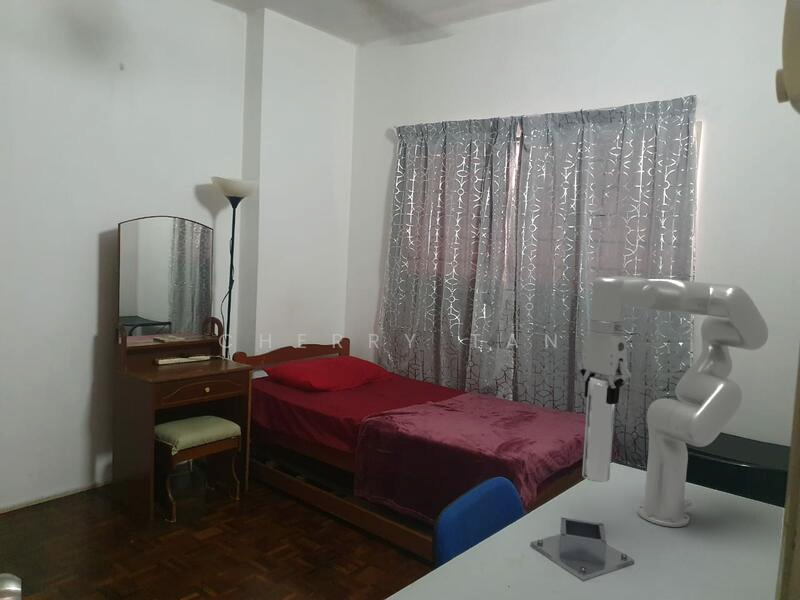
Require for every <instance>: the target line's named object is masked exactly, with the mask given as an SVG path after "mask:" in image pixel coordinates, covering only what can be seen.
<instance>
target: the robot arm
mask: <svg viewBox="0 0 800 600" xmlns="http://www.w3.org/2000/svg"><path fill="white" fill-rule="evenodd" d="M591 288H592V289H591V301H590V302H591V304H590V306H591V307H590V317H589V318H590V320H589V331H587V335H586V338H585V342H584V349H583V354H582V355H583V357H582V358H581V359H580V360H579V361H577V363H576V365H577V367H578V368H579V370H580V375H582V379H583V381H585V382H584V395H583V397H584V398H587V396H588V381H589V380H590V377H597V374H598V375H603V376H604V377H607V378H608V379H609V382H610V386H611V388H609V389H608V401H607V403H608V404H615V405H616V404H618V403H619V401H620V389H621V388H622V387H623V386H624V385H626V383H627V381H629V380H630V378H632V376H633V375H632V373H631V372H630V370H629V369H628V353H627V352H628V351H627V350H628V349H627V348H628V347H627V341H626V336H625V334H624V335H623V332H625V331H626V326H625V325H623V323H624V310H625V307H626V308H632V309H633V308H634V309H649V310H653V311H659V312H663V313H664V312H665V313H673V314H685V315H686V314H687V315H697V316H699V315H700V316H706V317H705V318H703V321H702V323H701V326H700V335H701V351H700V355H699V356H698V358H697V359H696V360H695V361H694V363H693V364H692V365H691V367H690V368H688V370H687V371H686V372H685V373H684V375H682V376H681V378H680V380H679V381H678V383H677V384H676V386H675V390H674V391H675V395H676V398H677V399H678V400H675V399H673V398H666V397H665V398H664V397H663V398H658V399H655V400H654V401H653V402H651V404H650V405H649V407H648V409H647V413H646V422H647V423H646V424H647V428H648V431H647V432H648V450H647V451H648V452H647V464H646V465H647V466H646V475H645V490H644V500H643V503H640V504H639V505H638V506H637V509H636V510H637V511H636V512H637V514H638V516H640V518H642V519H644V520H646V521H648V522H650V523H653V524H656V525H659V526H662V527H663V526H664V527H668V528H669V527H672V528H681V527H685V526H688V524H689V522H690V517H689V515H688V514H687V513H686V512H685V509H686V508H688V507H690V506H691V507H692V506H693V501H692V498H691V499H690V498H685V491H686V482H687V471H688V470H687V469H688V463H689V462H688V460H689V457H688V456H689V453H688V448H687V445H691V446H693V447H694V446H695V447H698V448H701V447H702V448H703V447H707V446H708V445H710V444H711V443H713V442H714V441H715V440H716V438H717V437H718V436H719V434H721V432H722V431H723V430H724V429H725V427H726V426H727V425H728V424H729V422H730V421H731V420H732V419H733V418H734V417H735V415H736V413H738V411H739V409H740V406H741V404H742V400H743V393H742V392H743V391H742V389H741V387H740V386H739V384H738V383H737V382H735V380H732V379H730V378H728V377H729V376H730V375H731V373H732V371H733V361H732V357H731V354H730V351H729V350H730V349H729V347H731V348H736V349H741V350H748V351H750V350H751V351H755V350H759V349H761V348H762V347H764V346H765V344H766V343H767V341H768V339H769V329H768V325H767V323H766V321H765V319H764V317H763V315H762V314H761V312H760V311H759V310H758V307H757V306H756V304H755V303H754V301H753V299H752V298H751V296H750V295H749V294H748V293H747V292H746V291H745V290H744V289H742V287H740V286H738V285H734V284H719V283H709V282H701V281H699V282H698V281H689V280H681V279H668V278H667V279H665V278H664V279H662V278H661V279H651V278H649V279H648V278H646V277H645V278H644V277H635V276H626V275H625V276H622V275H621V276H619V275H613V276H599V277H596V278H594V280H593V281H592V287H591Z"/></svg>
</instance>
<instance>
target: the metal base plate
mask: <svg viewBox="0 0 800 600" xmlns="http://www.w3.org/2000/svg"><path fill="white" fill-rule="evenodd" d="M559 527H560V528H559V534H556V535H552V536H548V537H545V538H541V539H536V540H533V541H531V542H530V547H531V548H533V550H535V551H537V552H538V553H540V554H541V555H543V556H544V557H546V558H548V559H549V560H551V561H552V562H554V563H555V564H557V565H558V566H560V567H561V568H563V569H565V571H568V572H569V573H570V574H572V575H574V576H575V577H577V579H580V580H581V581H582V582H584V581H587V580H590V579H593V578H595V577H599V576H601V575H604V574H607V573H608V574H609V573H611V572H613V571H616V570H619V569H623V568H625V567H629V566H632V565H634V564H635V559H634V558H633V557H630V556H629V555H628V554H626V553H623V552H622V551H620V550H618V549H616V548H614V547H613V546H611V545H609V544H608V543H607V536H606V532H605V526H604V523H600V522H594V521H588V520H581V519H575V518H569V517H567V518H566V517H561V518H560V526H559Z"/></svg>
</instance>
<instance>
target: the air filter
mask: <svg viewBox="0 0 800 600" xmlns="http://www.w3.org/2000/svg"><path fill="white" fill-rule="evenodd" d="M609 388H611V386H610V382H609V379H608V376H595V377H590V380H589V381H588V396H587V397H586V412H585V413H586V414H585V428H584V429H585V430H584V442H583V456H582V457H583V459H582V474H581V475H582V478H584V479H586V480H587V481H592V482H596V483H604V482H608V481H610V476H611V463H612V462H611V461H612V449H613V448H612V446H613V437H614V436H613V435H614V434H613V433H614V422H615V406H616V404H608V403H607V401H608V389H609Z"/></svg>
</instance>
